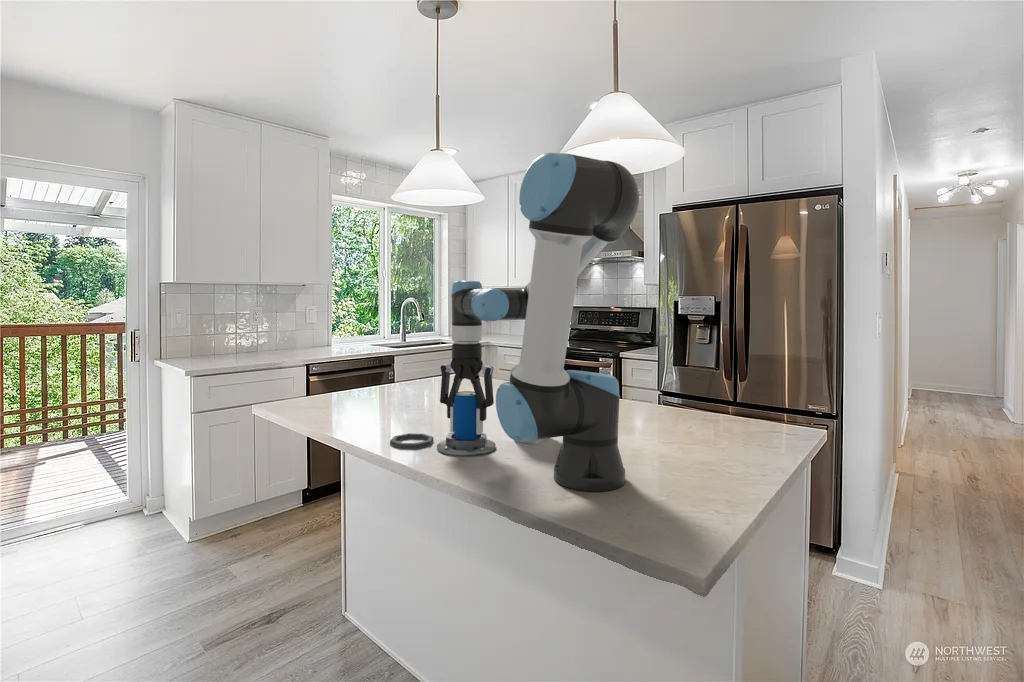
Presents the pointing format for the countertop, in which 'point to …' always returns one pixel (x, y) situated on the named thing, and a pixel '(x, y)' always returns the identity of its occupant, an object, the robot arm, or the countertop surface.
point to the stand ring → (400, 445)
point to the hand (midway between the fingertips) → (466, 431)
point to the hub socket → (466, 446)
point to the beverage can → (465, 415)
